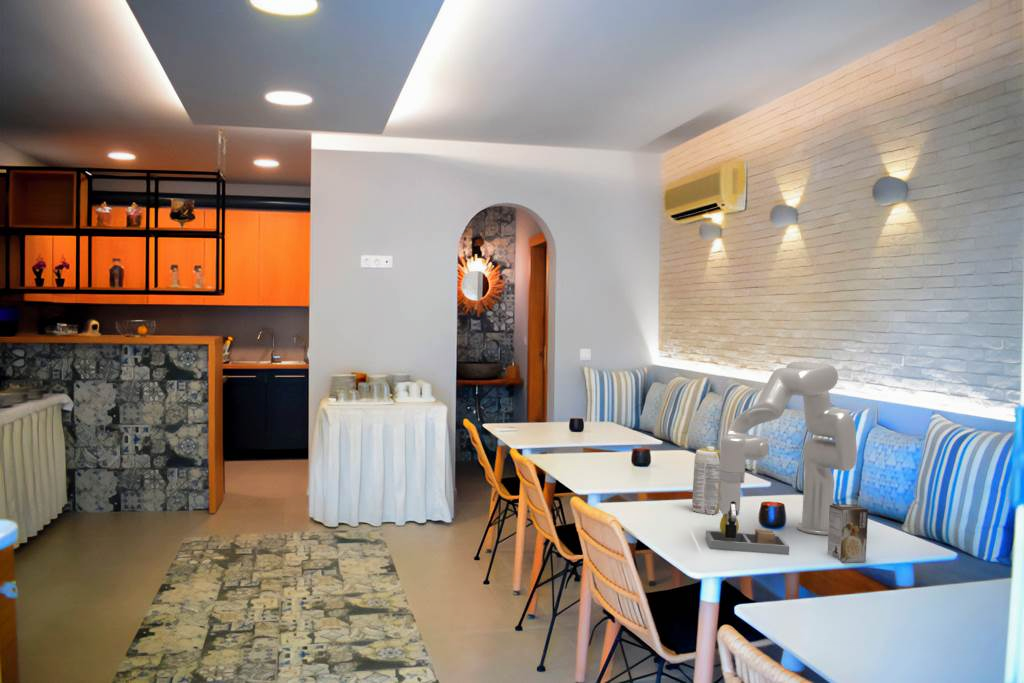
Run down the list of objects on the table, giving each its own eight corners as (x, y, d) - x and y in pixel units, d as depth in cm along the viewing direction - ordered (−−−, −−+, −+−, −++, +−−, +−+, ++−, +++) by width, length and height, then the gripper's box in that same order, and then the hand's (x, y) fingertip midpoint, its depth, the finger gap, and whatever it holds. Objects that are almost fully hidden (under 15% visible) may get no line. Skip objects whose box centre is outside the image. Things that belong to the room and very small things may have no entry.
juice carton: (721, 512, 299) (725, 447, 298) (714, 516, 292) (718, 449, 291) (697, 508, 304) (700, 444, 303) (689, 511, 297) (693, 446, 296)
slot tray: (705, 541, 258) (705, 530, 258) (779, 546, 256) (780, 535, 255) (710, 552, 246) (711, 540, 246) (788, 558, 244) (789, 546, 243)
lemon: (734, 536, 254) (736, 510, 254) (740, 541, 249) (741, 515, 248) (717, 535, 254) (718, 510, 254) (722, 540, 248) (723, 514, 248)
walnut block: (754, 544, 253) (755, 528, 253) (770, 545, 252) (771, 530, 252) (757, 549, 248) (758, 533, 248) (774, 550, 247) (775, 534, 247)
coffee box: (851, 555, 249) (855, 503, 249) (866, 562, 243) (869, 509, 243) (826, 556, 247) (829, 504, 246) (839, 563, 241) (843, 509, 240)
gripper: (715, 470, 260) (712, 526, 260) (723, 481, 242) (720, 541, 243) (739, 472, 259) (736, 528, 259) (749, 483, 242) (746, 543, 242)
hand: (728, 534), depth 251 cm, fingers closed on lemon, 5 cm apart
